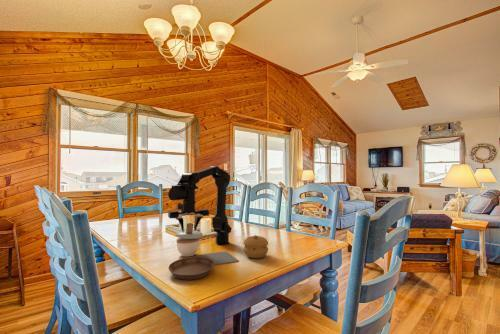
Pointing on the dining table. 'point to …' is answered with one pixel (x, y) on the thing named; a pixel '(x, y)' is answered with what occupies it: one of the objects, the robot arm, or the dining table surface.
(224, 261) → the mat
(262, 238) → the pot
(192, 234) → the lid
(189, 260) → the plant saucer
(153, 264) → the dining table surface
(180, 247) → the lidded jar
